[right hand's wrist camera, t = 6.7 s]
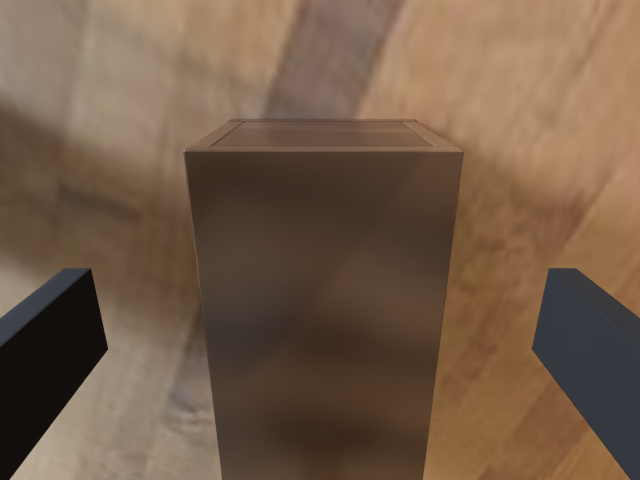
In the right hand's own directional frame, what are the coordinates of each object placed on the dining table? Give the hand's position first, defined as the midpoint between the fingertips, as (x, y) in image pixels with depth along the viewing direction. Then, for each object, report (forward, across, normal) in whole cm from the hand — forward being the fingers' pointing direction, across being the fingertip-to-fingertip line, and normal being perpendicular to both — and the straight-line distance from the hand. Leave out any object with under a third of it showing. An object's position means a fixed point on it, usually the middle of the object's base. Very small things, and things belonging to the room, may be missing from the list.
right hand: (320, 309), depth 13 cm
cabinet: (+13, 0, -4) cm, 14 cm away
